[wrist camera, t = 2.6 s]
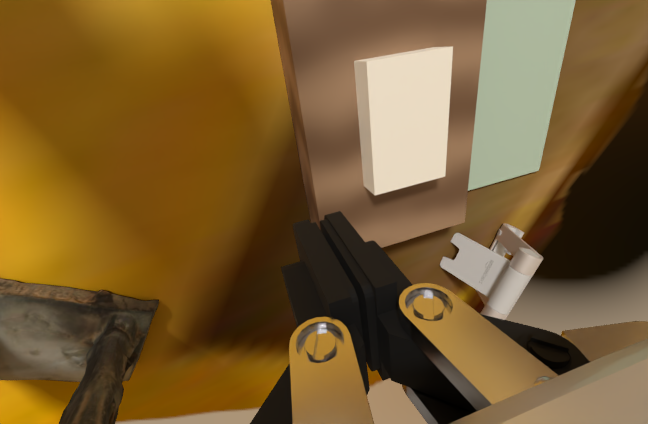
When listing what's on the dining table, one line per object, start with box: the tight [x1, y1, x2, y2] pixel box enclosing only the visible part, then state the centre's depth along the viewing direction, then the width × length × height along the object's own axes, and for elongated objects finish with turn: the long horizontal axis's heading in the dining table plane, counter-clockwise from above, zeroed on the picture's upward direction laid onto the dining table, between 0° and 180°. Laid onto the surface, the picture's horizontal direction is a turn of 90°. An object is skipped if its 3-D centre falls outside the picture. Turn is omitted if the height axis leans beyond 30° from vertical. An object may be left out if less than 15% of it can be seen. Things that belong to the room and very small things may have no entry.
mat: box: [468, 0, 576, 191], centre depth 29 cm, size 20×12×1 cm, turn 9°
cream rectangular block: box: [354, 46, 453, 195], centre depth 22 cm, size 9×6×2 cm, turn 9°
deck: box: [271, 0, 487, 248], centre depth 25 cm, size 22×14×4 cm, turn 9°
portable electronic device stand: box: [440, 223, 543, 320], centre depth 35 cm, size 9×8×8 cm
